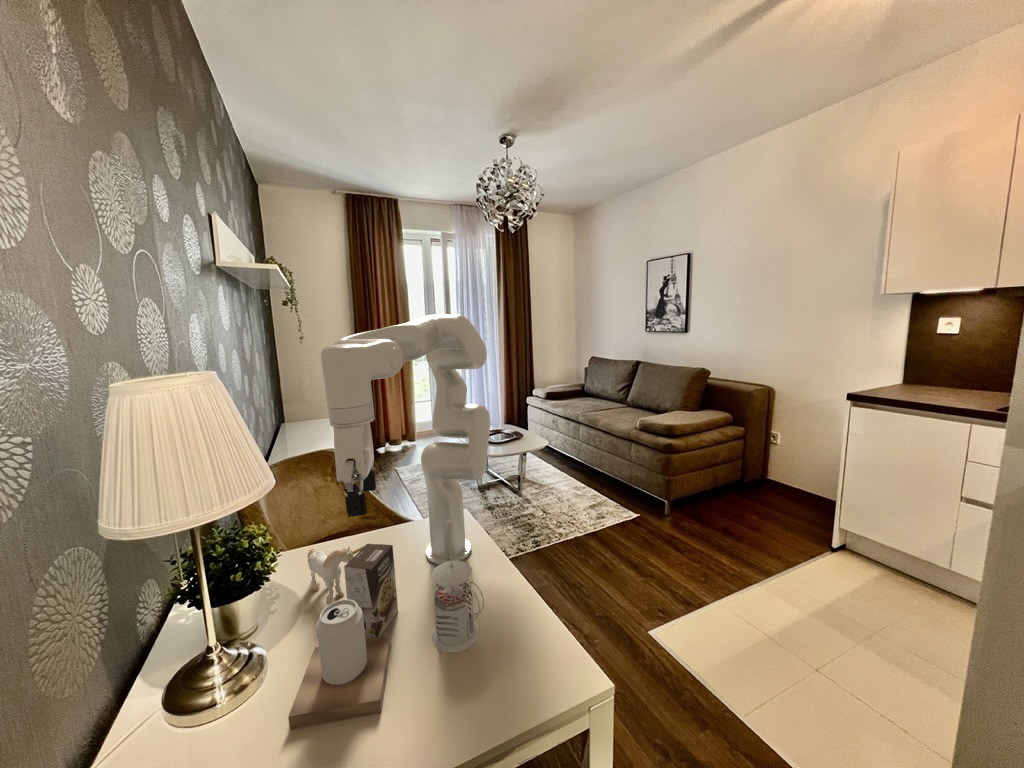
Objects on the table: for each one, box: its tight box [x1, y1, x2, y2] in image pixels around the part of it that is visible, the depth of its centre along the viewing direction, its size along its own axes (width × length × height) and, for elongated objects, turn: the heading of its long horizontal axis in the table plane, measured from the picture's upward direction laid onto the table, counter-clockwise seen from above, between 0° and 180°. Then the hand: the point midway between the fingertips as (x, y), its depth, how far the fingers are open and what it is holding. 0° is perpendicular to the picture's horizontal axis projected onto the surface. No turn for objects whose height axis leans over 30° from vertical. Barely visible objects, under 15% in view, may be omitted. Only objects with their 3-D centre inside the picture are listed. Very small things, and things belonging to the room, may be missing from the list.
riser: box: [287, 634, 392, 731], centre depth 72 cm, size 14×14×2 cm
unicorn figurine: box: [306, 543, 371, 606], centre depth 95 cm, size 7×20×13 cm, turn 67°
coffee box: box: [343, 543, 399, 639], centre depth 85 cm, size 9×6×16 cm
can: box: [315, 598, 367, 685], centre depth 71 cm, size 8×8×12 cm
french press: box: [431, 520, 485, 653], centre depth 80 cm, size 10×12×25 cm
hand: (362, 502), depth 75 cm, fingers open, 9 cm apart
